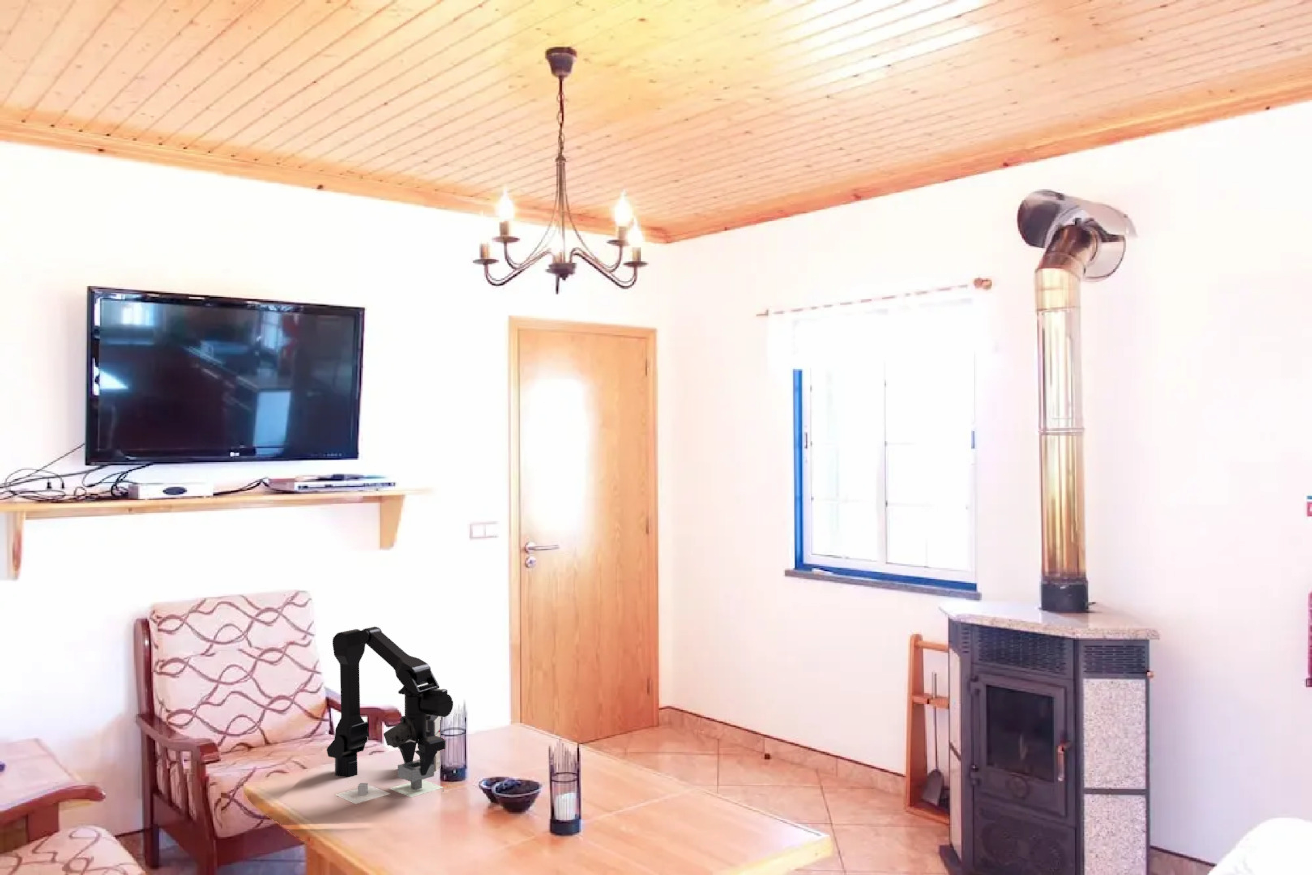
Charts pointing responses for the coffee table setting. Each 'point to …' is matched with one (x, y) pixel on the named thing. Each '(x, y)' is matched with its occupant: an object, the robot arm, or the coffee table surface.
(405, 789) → the hub board
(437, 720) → the calculator
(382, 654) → the robot arm
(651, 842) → the coffee table surface
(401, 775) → the grey socket block
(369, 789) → the plate stand
